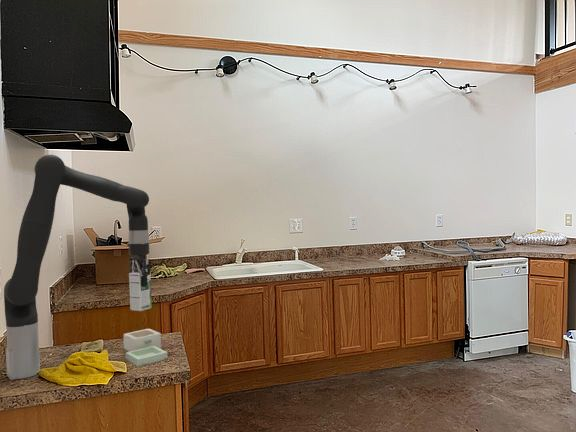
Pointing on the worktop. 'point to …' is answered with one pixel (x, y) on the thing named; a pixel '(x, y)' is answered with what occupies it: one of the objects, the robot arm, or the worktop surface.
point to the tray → (146, 356)
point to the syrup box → (139, 292)
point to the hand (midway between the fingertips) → (140, 285)
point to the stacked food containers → (141, 339)
